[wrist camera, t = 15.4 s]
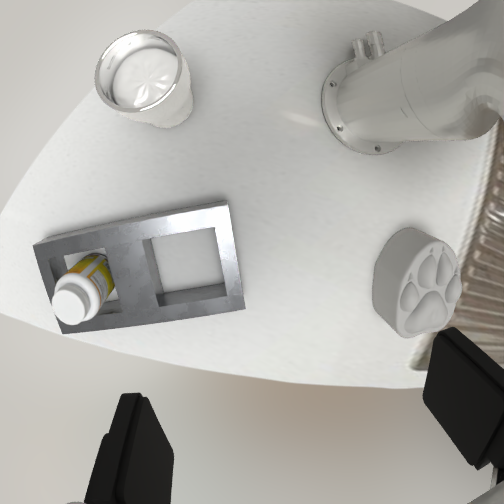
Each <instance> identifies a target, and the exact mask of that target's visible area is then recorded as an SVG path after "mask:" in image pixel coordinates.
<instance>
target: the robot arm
mask: <svg viewBox="0 0 504 504" xmlns="http://www.w3.org/2000/svg"><path fill="white" fill-rule="evenodd" d="M366 37H367V41H368V45H369V47H370V51H371V56H369V58H368V57H366V54H365V47H364V43H363V40H362V39H355V40H352V44H353V49H354V51H355V56H356V57H355V58H354V59H351V60H348V61H345V62H343V63H342V64H340V65H339V66H337V67H336V68H335V69H334V70H333V71H332V72H331V73H330V74H329V76H328V77H327V79H326V81H325V84H324V87H323V91H322V107H323V113H324V116H325V119H326V122H327V124H328V125H329V127H330V129H331V131H332V132H333V133H334V135H335V136H336V137H337V138H338V139H339V140H340V141H341V142H342V143H343V144H344V145H346V146H347V147H349V148H350V149H352V150H354V151H357V152H359V153H363V154H368V155H380V154H386V153H388V152H391V151H393V150H395V149H396V148H398V147H399V146H400V145H401V144H402V143H403V142H404V141H455V140H457V141H462V140H471V139H475V138H478V137H480V136H482V135H484V134H485V133H487V132H488V131H489V130H490V129H491V128H492V127H493V125H494V124H495V123H496V122H497V120H498V119H499V117H500V116H501V117H502V119H503V120H504V0H479V1H478V2H476V3H475V4H473V5H472V6H471V7H469V8H468V9H467V10H466V11H464V12H462V13H461V14H459V15H458V16H456V17H454V18H453V19H451V20H450V21H448V22H446V23H444V24H442V25H440V26H439V27H437V28H435V29H433V30H431V31H429V32H427V33H425V34H423V35H421V36H419V37H417V38H415V39H413V40H411V41H409V42H407V43H405V44H403V45H401V46H399V47H397V48H395V49H393V50H391V51H389V52H387V53H385V51H384V47H383V46H384V44H383V40H382V36H381V33H380V32H377V31H372V32H368V33H367V34H366ZM330 84H332V87H331V86H330ZM337 127H339V131H338V130H337ZM375 147H376V150H375ZM423 400H424V403H425V405H426V406H427V407H428V409H429V410H430V411H431V413H432V414H433V415H434V417H435V418H436V419H437V421H438V422H439V423H440V425H441V426H442V427H443V429H444V430H445V432H446V433H447V434H448V436H449V437H450V438H451V440H452V441H453V443H454V444H455V445H456V447H457V448H458V450H459V451H460V452H461V454H462V455H463V456H464V458H465V459H466V461H467V462H468V463H469V464H470V465H472V466H473V465H474V466H475V468H476V469H477V470H479V469H481V468H483V467H484V466H486V465H487V464H489V463H490V462H491V463H492V464H493V466H494V467H493V473H492V480H491V486H490V490H489V491H487V492H486V493H484V494H482V495H481V496H479V497H478V498H476V499H474V500H473V501H471V502H469V503H468V504H504V369H503V368H502V367H500V366H499V365H498V364H497V363H496V362H495V361H494V360H493V359H491V358H490V357H489V356H488V355H487V354H486V353H485V352H483V351H482V350H481V349H480V348H479V347H478V346H476V345H475V344H474V343H473V342H472V341H471V340H469V339H468V338H467V337H466V336H465V335H464V334H462V333H461V332H460V331H459V330H458V329H456V328H455V327H450V328H448V329H445V330H442V331H440V332H438V334H437V336H436V337H435V338H434V341H433V347H432V352H431V358H430V363H429V368H428V373H427V378H426V382H425V387H424V391H423ZM173 465H174V453H173V449H172V447H171V445H170V443H169V441H168V440H167V437H166V435H165V433H164V431H163V429H162V427H161V425H160V423H159V421H158V419H157V417H156V415H155V412H154V410H153V408H152V406H151V404H150V401H149V399H148V398H147V397H143V396H142V395H141V393H124V394H122V395H121V397H120V400H119V403H118V405H117V409H116V412H115V415H114V418H113V421H112V424H111V427H110V430H109V433H107V434H105V435H104V437H103V439H102V441H101V445H100V448H99V451H98V454H97V458H96V461H95V465H94V468H93V471H92V475H91V478H90V481H89V485H88V489H87V492H86V496H85V500H84V503H82V502H71V503H67V504H170V502H171V488H172V476H173Z"/></svg>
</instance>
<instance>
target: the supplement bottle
mask: <svg viewBox="0 0 504 504" xmlns="http://www.w3.org/2000/svg"><path fill="white" fill-rule="evenodd" d="M114 287H115V284H114V280H113V277H112V273H111V270H110V266H109V262H108V259H107V258H106V257H105V256H103V255H99V254H90V255H87V256H86V257H84V258H83V259H82V260H81V261H79V262H78V263H77V264H76V265H75V266H74V267H72V268H71V269H70V270H69V271H68V272H67V273H66V274H64V275H63V276H62V277H61V278H60V279H59V280H58V282H57V284H56V286H55V291H54V296H53V298H52V308H53V311H54V313H55V315H56V316H57V317H58V318H59V319H60V320H61V321H62V322H64V323H66V324H68V325H76V324H79V323H80V322H81V321H87V320H90V319H91V318H93V317H94V316H95V315H96V313H97V312H98V311H99V309H100V308H101V306H102V305H103V303H104V302H105V300H106V299H107V297H108V296H109V294H110V293H111V292H112V290H113V289H114Z"/></svg>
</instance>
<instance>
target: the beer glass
mask: <svg viewBox="0 0 504 504" xmlns="http://www.w3.org/2000/svg"><path fill="white" fill-rule="evenodd" d="M95 86H96V90H97V92H98V94H99V96H100V98H101V99H102V100H103V102H104V103H105V104H107V105H108V106H109V107H111V108H113V109H114V110H115V111H116V112H118V113H119V114H121V115H122V116H124V117H126V118H128V119H130V120H134V121H137V122H141V123H150V124H152V125H153V126H156V127H158V128H172V127H175V126H177V125H179V124H181V123H182V122H184V121H185V120H186V119H187V118H188V116H189V115H190V113H191V111H192V108H193V103H194V99H193V94H192V92H191V90H190V86H191V78H190V72H189V68H188V65H187V63H186V60H185V58H184V57H183V55H182V53H181V52H180V50H179V48H178V46H177V45H176V43H175V42H174V41H173V40H172V39H171V38H170V37H168V36H167V35H165V34H163V33H161V32H158V31H153V30H138V31H134V32H130V33H128V34H125V35H123V36H121V37H120V38H118V39H117V40H115V41H114V42H113V43H111V44H110V46H108V47H107V49H106V50H105V51H104V53H103V54H102V55H101V57H100V59H99V61H98V64H97V67H96V71H95Z"/></svg>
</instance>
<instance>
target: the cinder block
mask: <svg viewBox="0 0 504 504" xmlns="http://www.w3.org/2000/svg"><path fill="white" fill-rule="evenodd" d="M209 227H215V232H216V237H217V243H218V248H219V254H220V259H221V264H222V270H223V275H224V280H225V283H223V284H217V285H211V286H205V287H199V288H193V289H187V290H180V291H174V292H168V293H164V292H163V288H162V284H161V280H160V276H159V272H158V268H157V264H156V260H155V256H154V251H153V247H152V243H151V238H154V237H160V236H165V235H170V234H176V233H181V232H187V231H192V230H198V229H204V228H209ZM103 247H105V251H106V255H107V259H108V262H109V266H110V270H111V273H112V277H113V280H114V284H115V287H116V290H117V294H118V297H119V300H116V301H110V302H104V303H103V305H102V306H101V308H100V309H99V311H98V312H97V313H96V315H95V316H94V317H93V318H91V319H90V320H87V321H81V322H80V323H79V324H76V325H68V324H66V323H64V322H62V321H61V320H60V319H59V318H58V317H57V316H56V315H55V316H56V318H57V321H58V324H59V326H60V329H61V331H62V334H70V333H80V332H89V331H98V330H107V329H115V328H123V327H131V326H139V325H146V324H154V323H161V322H168V321H175V320H182V319H188V318H195V317H201V316H207V315H214V314H220V313H226V312H232V311H237V310H243V309H246V308H245V302H244V297H243V291H242V285H241V279H240V273H239V268H238V262H237V256H236V250H235V244H234V238H233V232H232V226H231V220H230V214H229V208H228V203H227V200H225V201H220V202H214V203H208V204H202V205H197V206H191V207H186V208H180V209H175V210H170V211H165V212H160V213H155V214H150V215H145V216H140V217H135V218H130V219H125V220H121V221H116V222H111V223H107V224H102V225H98V226H93V227H89V228H84V229H80V230H76V231H72V232H67V233H63V234H59V235H55V236H51V237H47V238H45V239H43V240H42V241H40V242H38V243H36V244H34V245H33V249H34V252H35V256H36V259H37V263H38V266H39V269H40V273H41V276H42V279H43V282H44V285H45V288H46V291H47V294H48V297H49V300H50V302H51V305H52V298H53V296H54V291H55V286H56V284H57V282H58V280H59V279H60V278H61V277H62V276H63V275H64V274H66V273H67V272H68V271H67V267H66V264H65V260H64V257H63V256H64V255H69V254H74V253H78V252H83V251H88V250H93V249H98V248H103Z"/></svg>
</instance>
